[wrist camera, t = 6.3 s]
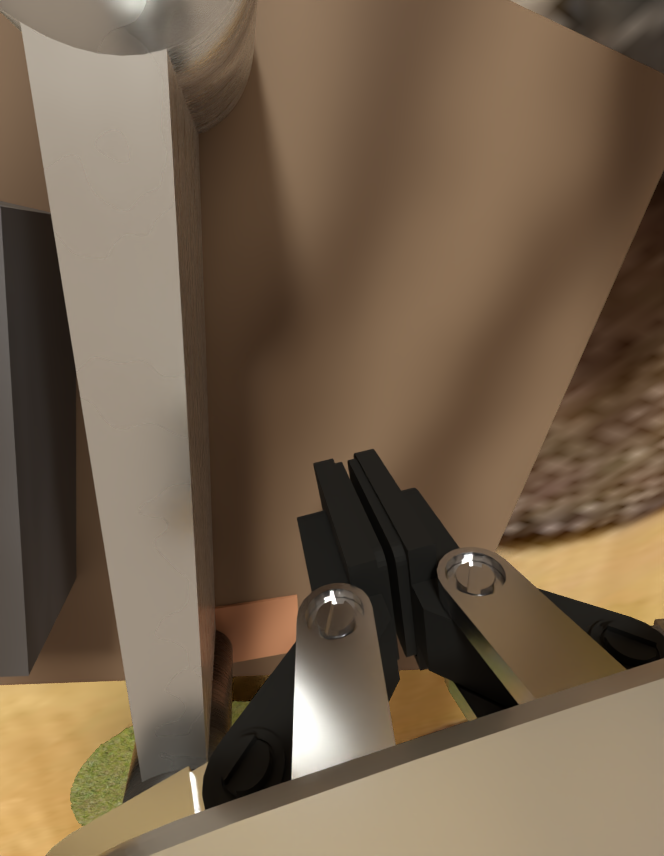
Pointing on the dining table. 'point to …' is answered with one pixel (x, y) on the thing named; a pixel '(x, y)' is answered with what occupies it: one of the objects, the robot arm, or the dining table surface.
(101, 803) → the green disc
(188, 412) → the lever
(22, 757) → the dining table surface
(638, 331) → the dining table surface
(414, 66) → the nutcracker bench
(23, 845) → the dining table surface
